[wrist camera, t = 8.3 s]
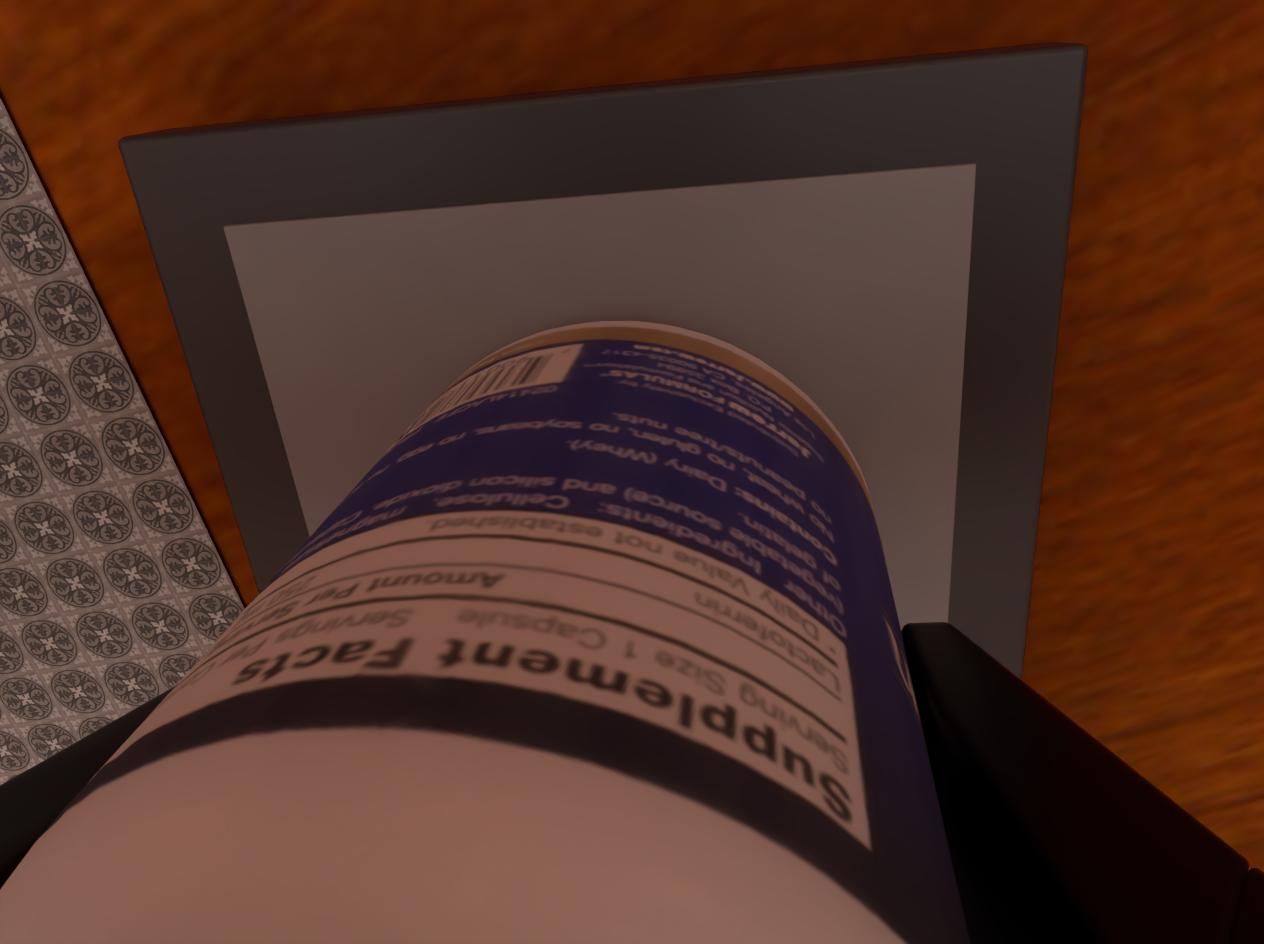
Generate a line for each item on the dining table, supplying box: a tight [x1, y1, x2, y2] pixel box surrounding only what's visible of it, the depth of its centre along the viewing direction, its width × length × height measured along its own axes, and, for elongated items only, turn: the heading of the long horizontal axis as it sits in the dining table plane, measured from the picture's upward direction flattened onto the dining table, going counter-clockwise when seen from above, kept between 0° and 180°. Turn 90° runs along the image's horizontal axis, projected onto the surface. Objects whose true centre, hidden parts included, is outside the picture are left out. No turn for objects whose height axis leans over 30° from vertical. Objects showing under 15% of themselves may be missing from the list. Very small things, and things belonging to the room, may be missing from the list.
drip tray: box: [119, 42, 1088, 680], centre depth 12 cm, size 10×10×1 cm
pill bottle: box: [0, 321, 971, 944], centre depth 7 cm, size 6×6×10 cm
